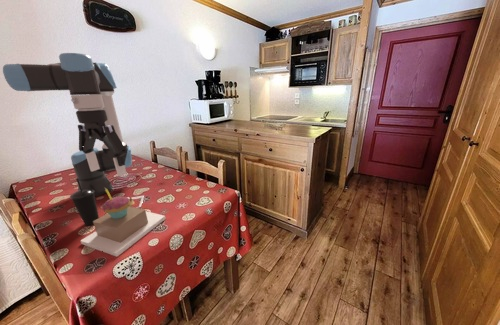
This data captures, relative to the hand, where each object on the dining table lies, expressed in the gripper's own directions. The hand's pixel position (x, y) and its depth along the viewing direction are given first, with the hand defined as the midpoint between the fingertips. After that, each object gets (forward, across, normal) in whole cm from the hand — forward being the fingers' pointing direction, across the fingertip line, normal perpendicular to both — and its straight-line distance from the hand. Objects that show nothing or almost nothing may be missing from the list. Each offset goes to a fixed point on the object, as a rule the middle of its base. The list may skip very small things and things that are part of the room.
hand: (108, 172), depth 71 cm
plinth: (+25, 0, 0) cm, 25 cm away
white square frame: (+26, -16, +15) cm, 34 cm away
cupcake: (+17, 0, 0) cm, 17 cm away
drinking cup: (+25, -19, 0) cm, 31 cm away
